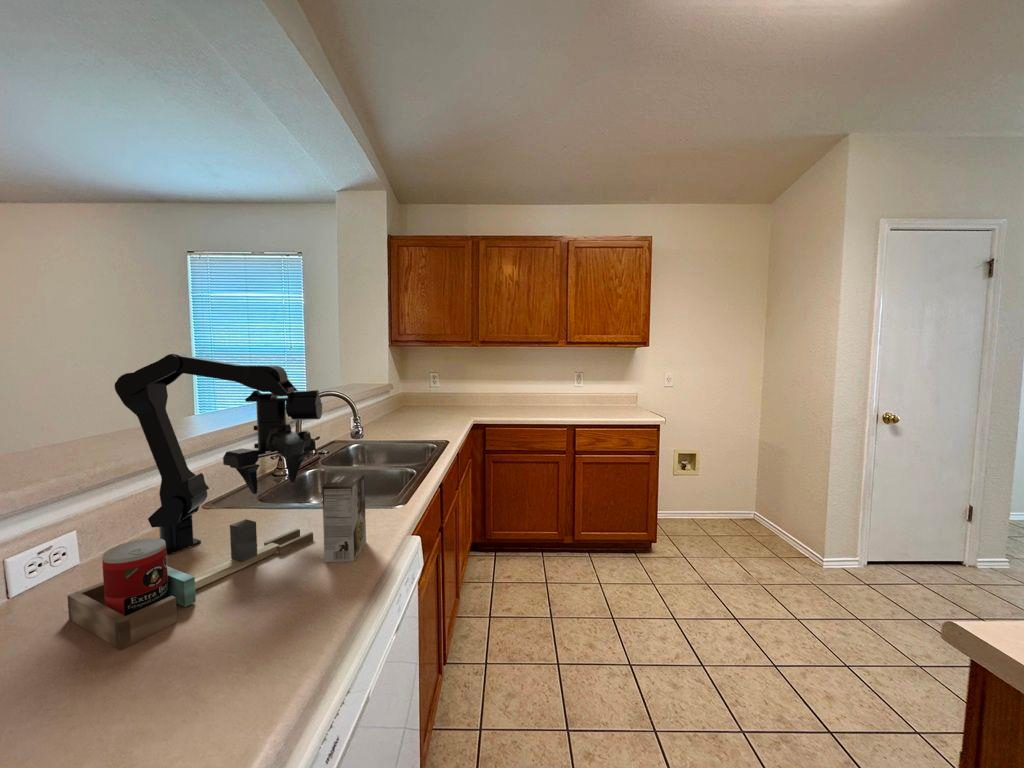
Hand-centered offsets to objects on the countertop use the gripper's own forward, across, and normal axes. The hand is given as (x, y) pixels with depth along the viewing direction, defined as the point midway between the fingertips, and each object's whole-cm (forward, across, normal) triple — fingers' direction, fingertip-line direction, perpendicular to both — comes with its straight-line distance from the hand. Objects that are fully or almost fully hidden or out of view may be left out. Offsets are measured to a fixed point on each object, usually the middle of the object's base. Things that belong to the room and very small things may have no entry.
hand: (274, 487), depth 95 cm
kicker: (+12, -14, -6) cm, 19 cm away
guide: (+12, -1, -6) cm, 13 cm away
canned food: (+12, -28, -6) cm, 31 cm away
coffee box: (+12, +2, -20) cm, 24 cm away
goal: (+12, -30, -6) cm, 33 cm away
